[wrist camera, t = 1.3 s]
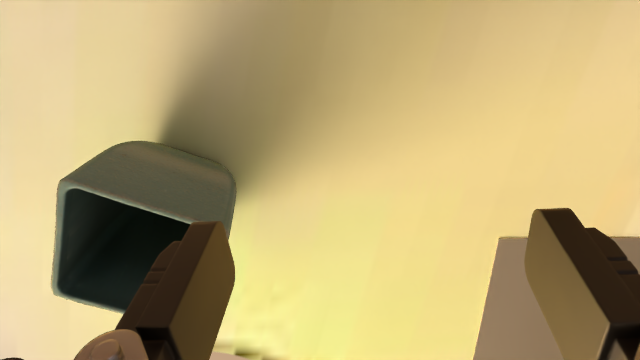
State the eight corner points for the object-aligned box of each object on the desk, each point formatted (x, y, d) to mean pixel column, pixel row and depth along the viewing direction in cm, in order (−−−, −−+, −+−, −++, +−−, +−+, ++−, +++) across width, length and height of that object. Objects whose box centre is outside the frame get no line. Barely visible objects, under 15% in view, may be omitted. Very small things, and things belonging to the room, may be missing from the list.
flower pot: (259, 151, 30) (231, 232, 22) (228, 242, 35) (195, 336, 27) (132, 106, 29) (56, 176, 21) (117, 207, 33) (49, 295, 26)
